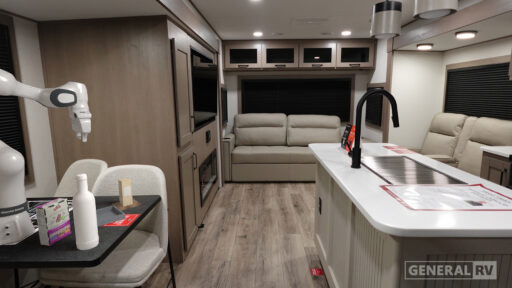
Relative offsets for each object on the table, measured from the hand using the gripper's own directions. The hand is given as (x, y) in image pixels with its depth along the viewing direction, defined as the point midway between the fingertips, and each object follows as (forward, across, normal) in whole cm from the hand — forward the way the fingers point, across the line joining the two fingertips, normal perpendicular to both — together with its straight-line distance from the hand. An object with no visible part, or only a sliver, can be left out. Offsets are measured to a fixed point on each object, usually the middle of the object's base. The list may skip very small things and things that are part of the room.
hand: (81, 140), depth 150 cm
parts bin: (+37, +21, +1) cm, 43 cm away
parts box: (+36, +11, +16) cm, 41 cm away
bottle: (+37, +43, -12) cm, 58 cm away
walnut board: (+37, +11, +16) cm, 42 cm away
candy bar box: (+37, +28, -20) cm, 51 cm away
